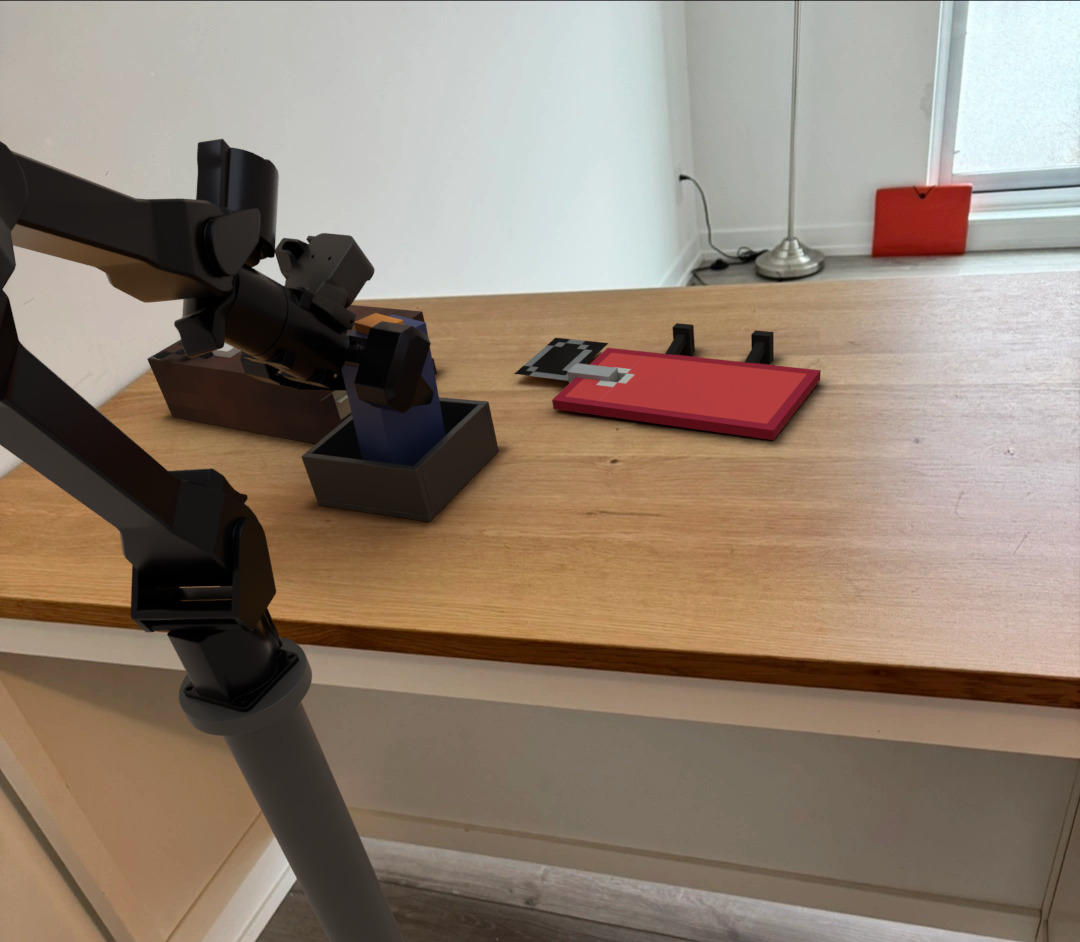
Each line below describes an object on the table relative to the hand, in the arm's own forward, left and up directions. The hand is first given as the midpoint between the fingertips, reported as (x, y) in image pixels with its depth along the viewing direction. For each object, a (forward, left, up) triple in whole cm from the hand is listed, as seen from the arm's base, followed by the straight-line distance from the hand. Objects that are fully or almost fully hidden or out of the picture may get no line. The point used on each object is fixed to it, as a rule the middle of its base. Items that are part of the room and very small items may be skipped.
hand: (398, 391), depth 90 cm
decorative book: (+12, +23, -8) cm, 27 cm away
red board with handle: (+20, -16, -8) cm, 26 cm away
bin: (-1, 0, -8) cm, 8 cm away
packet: (-2, 0, -7) cm, 7 cm away
